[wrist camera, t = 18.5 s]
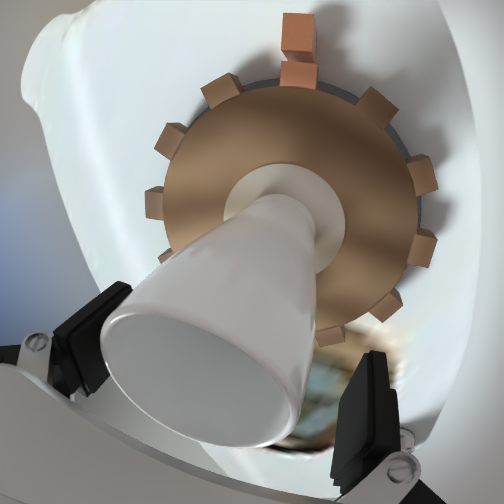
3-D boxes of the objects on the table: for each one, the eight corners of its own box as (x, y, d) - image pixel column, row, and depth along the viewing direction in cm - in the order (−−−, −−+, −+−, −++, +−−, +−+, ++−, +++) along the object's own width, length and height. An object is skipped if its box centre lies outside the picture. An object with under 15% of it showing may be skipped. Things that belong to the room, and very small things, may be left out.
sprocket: (384, 350, 25) (389, 405, 19) (165, 304, 30) (130, 344, 24) (452, 102, 15) (497, 95, 9) (161, 70, 20) (106, 59, 14)
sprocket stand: (451, 257, 21) (467, 279, 18) (259, 346, 31) (250, 371, 27) (309, 20, 16) (304, 0, 13) (126, 169, 26) (99, 178, 22)
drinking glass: (282, 161, 19) (159, 248, 6) (345, 235, 20) (350, 428, 6) (217, 221, 22) (75, 352, 9) (276, 284, 23) (205, 457, 10)
